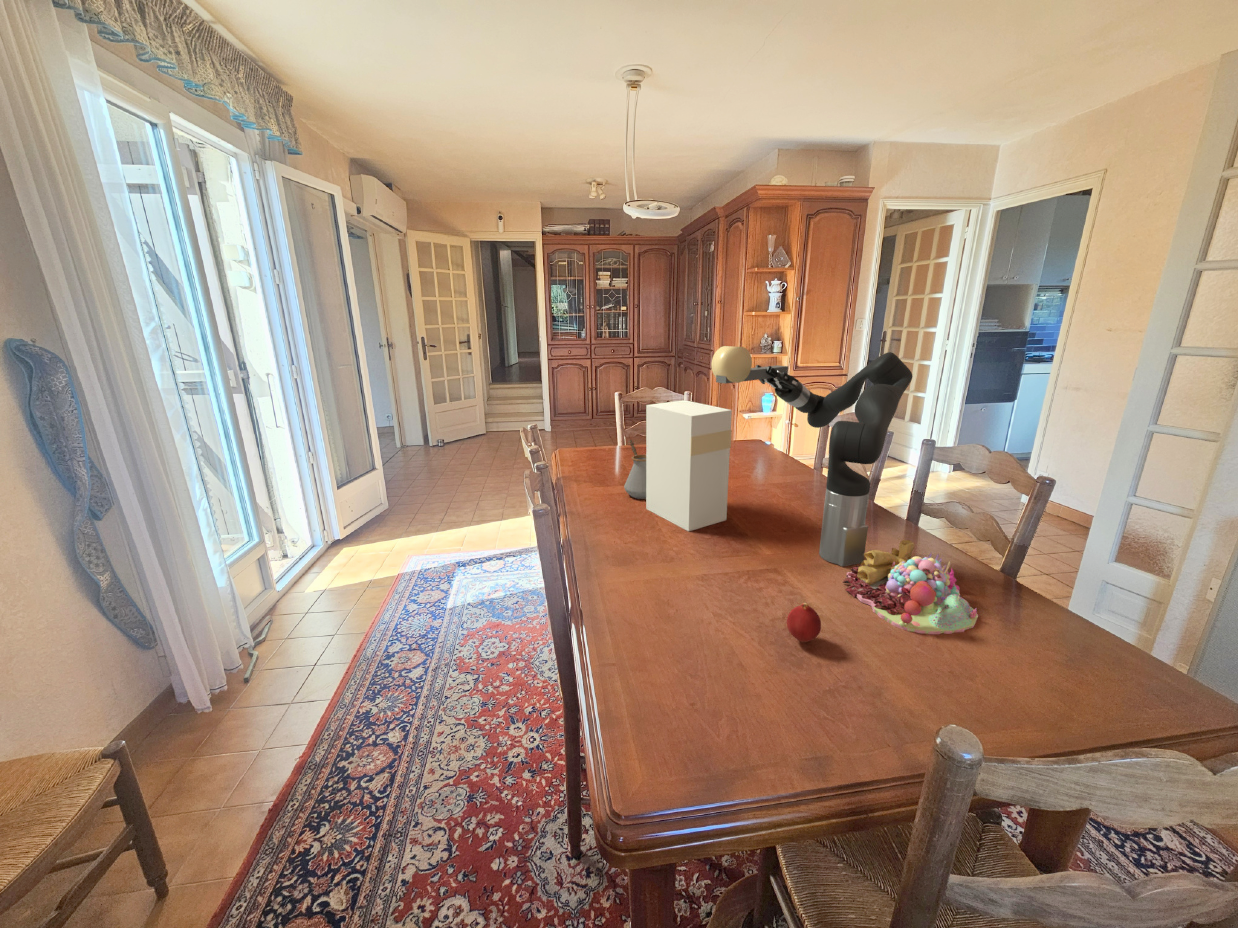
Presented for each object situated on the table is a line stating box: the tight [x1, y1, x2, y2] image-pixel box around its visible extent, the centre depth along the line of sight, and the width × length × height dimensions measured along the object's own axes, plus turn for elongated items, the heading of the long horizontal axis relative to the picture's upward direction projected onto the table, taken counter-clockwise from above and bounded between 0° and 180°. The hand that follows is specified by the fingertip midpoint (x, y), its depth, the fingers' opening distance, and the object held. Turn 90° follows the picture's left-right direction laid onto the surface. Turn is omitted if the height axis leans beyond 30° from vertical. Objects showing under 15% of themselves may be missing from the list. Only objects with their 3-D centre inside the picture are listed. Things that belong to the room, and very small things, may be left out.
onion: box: [786, 602, 822, 644], centre depth 91 cm, size 6×6×8 cm
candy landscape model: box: [842, 539, 979, 635], centre depth 104 cm, size 25×24×9 cm
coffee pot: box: [623, 439, 646, 500], centre depth 169 cm, size 21×12×15 cm, turn 12°
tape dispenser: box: [711, 345, 789, 384], centre depth 150 cm, size 27×6×10 cm, turn 122°
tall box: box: [645, 399, 733, 532], centre depth 146 cm, size 14×20×32 cm
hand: (762, 368), depth 153 cm, fingers closed on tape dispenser, 4 cm apart
